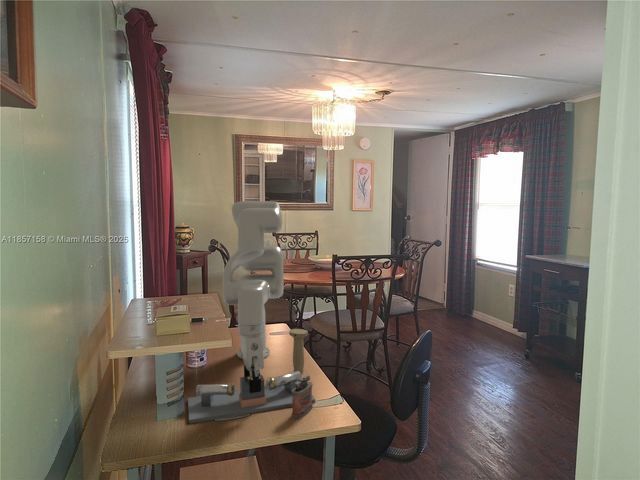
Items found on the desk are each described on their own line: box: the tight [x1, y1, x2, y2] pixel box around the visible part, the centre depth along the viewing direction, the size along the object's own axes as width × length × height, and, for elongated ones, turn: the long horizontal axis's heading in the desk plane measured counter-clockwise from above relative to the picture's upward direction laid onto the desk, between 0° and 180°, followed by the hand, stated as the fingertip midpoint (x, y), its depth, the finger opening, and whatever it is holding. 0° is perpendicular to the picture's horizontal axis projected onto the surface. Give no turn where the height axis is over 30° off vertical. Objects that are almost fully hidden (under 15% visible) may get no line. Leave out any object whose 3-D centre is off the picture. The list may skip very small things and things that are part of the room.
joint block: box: [239, 374, 265, 400], centre depth 121 cm, size 4×6×6 cm, turn 108°
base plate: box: [187, 385, 316, 424], centre depth 123 cm, size 13×36×3 cm, turn 109°
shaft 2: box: [265, 371, 303, 394], centre depth 127 cm, size 11×4×7 cm, turn 124°
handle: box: [288, 328, 309, 375], centre depth 143 cm, size 5×6×15 cm
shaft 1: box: [195, 382, 236, 407], centre depth 121 cm, size 11×4×7 cm, turn 94°
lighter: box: [291, 374, 314, 420], centre depth 117 cm, size 8×3×10 cm, turn 147°
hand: (252, 384), depth 121 cm, fingers open, 9 cm apart
